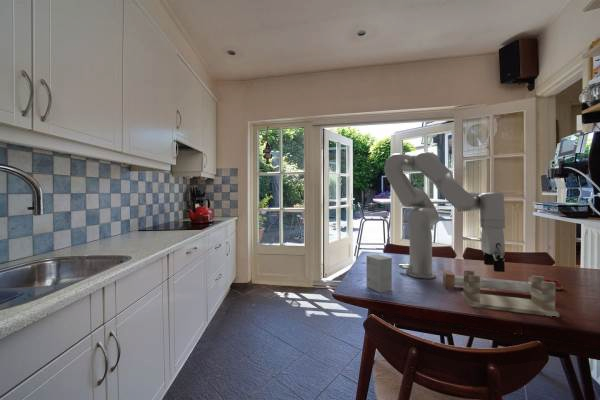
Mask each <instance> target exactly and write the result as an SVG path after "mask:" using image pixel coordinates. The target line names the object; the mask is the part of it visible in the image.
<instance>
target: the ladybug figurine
mask: <svg viewBox="0 0 600 400" xmlns="http://www.w3.org/2000/svg"><path fill="white" fill-rule="evenodd" d="M543 277H544V276H543ZM544 281H545V282H554V283H556V287H555V291H556V290H557V291H559V290H562V289H564V287H563V286H562V284H561V283H560V282H559V281H558V280H557V279H554V278H550V277H544Z"/></svg>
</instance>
